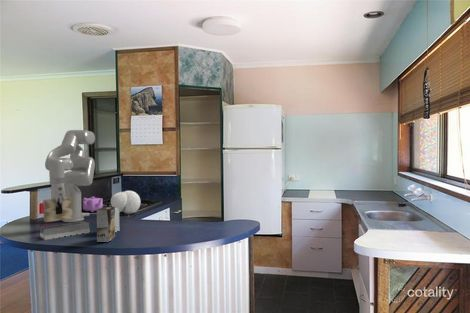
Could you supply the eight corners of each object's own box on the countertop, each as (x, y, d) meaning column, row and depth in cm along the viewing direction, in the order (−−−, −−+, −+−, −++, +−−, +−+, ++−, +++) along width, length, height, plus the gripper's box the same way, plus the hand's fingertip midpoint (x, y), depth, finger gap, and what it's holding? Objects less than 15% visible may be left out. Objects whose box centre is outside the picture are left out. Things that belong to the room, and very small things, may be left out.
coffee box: (110, 242, 161) (109, 209, 161) (96, 243, 161) (96, 209, 160) (115, 237, 170) (115, 206, 170) (102, 238, 170) (102, 206, 170)
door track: (84, 229, 189) (84, 220, 189) (89, 232, 182) (89, 223, 182) (40, 236, 174) (40, 227, 174) (44, 240, 167) (44, 230, 167)
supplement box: (120, 231, 184) (119, 208, 184) (110, 234, 177) (110, 210, 177) (109, 230, 187) (108, 207, 187) (99, 233, 180) (99, 210, 180)
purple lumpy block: (79, 213, 238) (79, 198, 238) (83, 210, 251) (83, 195, 251) (102, 212, 241) (102, 197, 241) (105, 209, 255) (105, 195, 254)
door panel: (70, 217, 195) (70, 196, 194) (72, 218, 193) (71, 197, 192) (43, 221, 185) (43, 199, 185) (45, 222, 183) (44, 200, 183)
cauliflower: (134, 210, 247) (133, 188, 247) (145, 214, 234) (145, 190, 234) (107, 214, 234) (106, 191, 233) (117, 218, 221) (117, 193, 220)
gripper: (68, 181, 184) (69, 214, 185) (60, 179, 196) (61, 210, 197) (54, 182, 179) (55, 216, 180) (45, 180, 191) (46, 212, 192)
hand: (58, 212), depth 189 cm, fingers closed on door panel, 3 cm apart
